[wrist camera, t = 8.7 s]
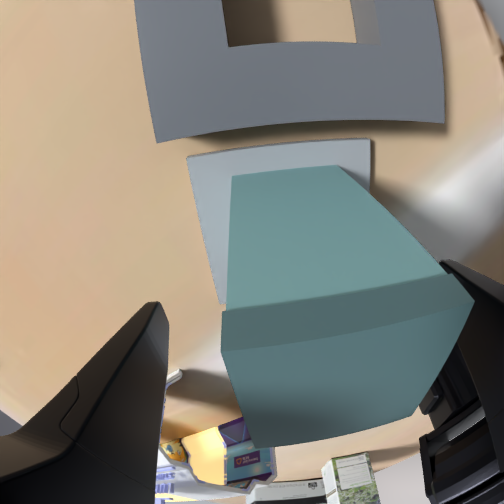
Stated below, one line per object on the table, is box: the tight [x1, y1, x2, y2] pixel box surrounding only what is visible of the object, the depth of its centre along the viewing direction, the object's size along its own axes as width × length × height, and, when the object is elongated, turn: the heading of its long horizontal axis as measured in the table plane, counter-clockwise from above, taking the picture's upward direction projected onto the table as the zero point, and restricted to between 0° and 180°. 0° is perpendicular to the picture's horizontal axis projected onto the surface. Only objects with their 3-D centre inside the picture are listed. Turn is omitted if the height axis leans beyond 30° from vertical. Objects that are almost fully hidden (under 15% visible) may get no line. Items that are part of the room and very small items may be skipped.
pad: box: [186, 138, 370, 304], centre depth 12 cm, size 7×7×1 cm
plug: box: [221, 165, 475, 449], centre depth 8 cm, size 4×4×8 cm
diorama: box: [155, 369, 277, 504], centre depth 18 cm, size 25×10×13 cm, turn 132°
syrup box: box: [321, 452, 381, 504], centre depth 26 cm, size 6×6×14 cm
